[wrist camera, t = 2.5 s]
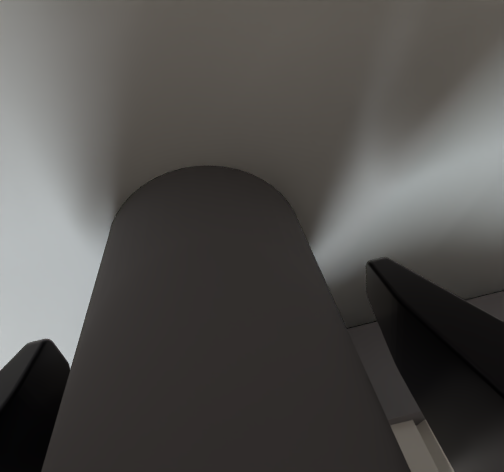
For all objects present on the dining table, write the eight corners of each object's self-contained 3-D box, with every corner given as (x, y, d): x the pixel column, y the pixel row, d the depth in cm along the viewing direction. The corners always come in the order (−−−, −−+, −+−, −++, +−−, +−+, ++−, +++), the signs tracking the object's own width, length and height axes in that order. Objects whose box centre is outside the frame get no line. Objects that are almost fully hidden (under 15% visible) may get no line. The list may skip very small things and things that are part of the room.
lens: (291, 138, 9) (680, 754, 2) (313, 301, 11) (497, 772, 5) (65, 191, 8) (-375, 1019, 2) (145, 341, 11) (88, 876, 5)
